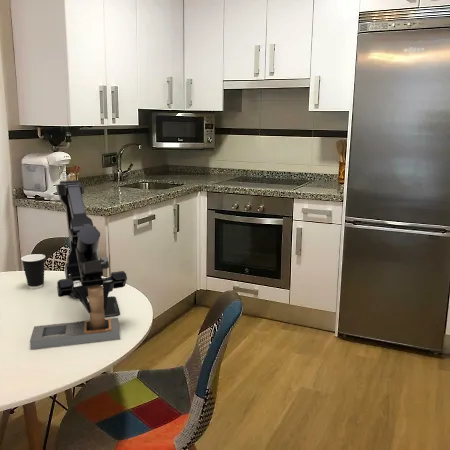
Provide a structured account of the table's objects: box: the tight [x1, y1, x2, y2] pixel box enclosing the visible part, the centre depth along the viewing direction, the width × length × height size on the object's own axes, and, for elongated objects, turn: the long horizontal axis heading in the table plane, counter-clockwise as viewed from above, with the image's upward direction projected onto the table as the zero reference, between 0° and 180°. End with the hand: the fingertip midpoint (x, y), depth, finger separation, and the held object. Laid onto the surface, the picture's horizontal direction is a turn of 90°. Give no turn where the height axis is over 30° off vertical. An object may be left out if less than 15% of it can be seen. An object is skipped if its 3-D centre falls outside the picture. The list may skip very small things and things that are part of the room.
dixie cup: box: [20, 253, 46, 290], centre depth 170 cm, size 8×8×11 cm
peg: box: [87, 285, 106, 331], centre depth 133 cm, size 4×4×13 cm
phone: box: [104, 296, 121, 319], centre depth 153 cm, size 8×1×15 cm
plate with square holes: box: [29, 317, 121, 350], centre depth 133 cm, size 23×9×3 cm, turn 105°
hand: (97, 311), depth 132 cm, fingers closed on peg, 4 cm apart
